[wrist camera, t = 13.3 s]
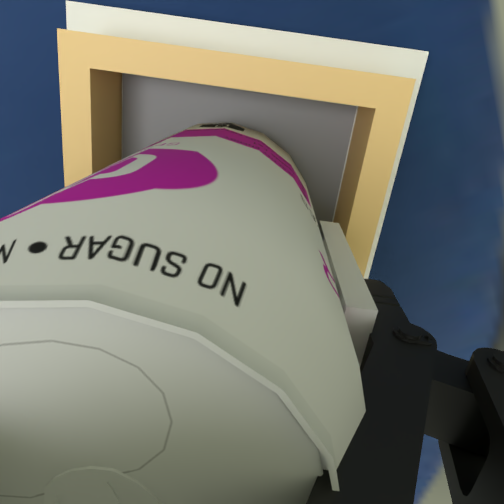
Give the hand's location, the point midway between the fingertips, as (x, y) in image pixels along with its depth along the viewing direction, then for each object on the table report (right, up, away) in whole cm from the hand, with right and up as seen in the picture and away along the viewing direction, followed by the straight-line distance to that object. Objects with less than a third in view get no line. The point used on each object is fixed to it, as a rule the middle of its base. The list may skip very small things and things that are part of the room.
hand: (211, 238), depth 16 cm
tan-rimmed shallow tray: (0, 0, +8) cm, 8 cm away
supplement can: (0, +1, +4) cm, 4 cm away
